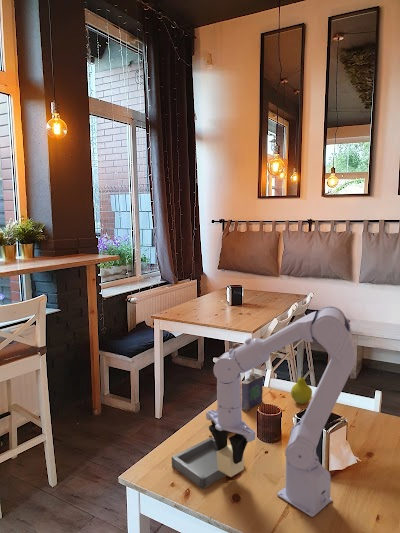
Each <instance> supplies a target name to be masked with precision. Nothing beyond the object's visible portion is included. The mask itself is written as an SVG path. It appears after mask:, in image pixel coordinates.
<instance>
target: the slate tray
mask: <svg viewBox="0 0 400 533" xmlns="http://www.w3.org/2000/svg"><path fill="white" fill-rule="evenodd" d="M217 451H218V449H217V446H216V442H215V440H214V437H213V436H211V437H208V438H206V439H204V440H202V441H200V442H199V443H197V444H195V445H193V446H190V447H188V448H187V449H184V450H183V451H181V452H179V453H177V454H174V455H173V456H171V467H173V469H175V470H176V471H178V472H179V473H180V474H182V475H183V476H184V477H186V478H187V479H189V480H190V481H191V482H192V483H193V484H195V485H197V486H198V487H199V488H200V489H202V490H204V489H206V488H207V487H209V486H211V485H212V484H214V483H215V482H218V481H219V480H221V479H222V478H224V477H225V476H227V475H226V474H225V473H223V472H221V471H219V470H218V466H217Z"/></svg>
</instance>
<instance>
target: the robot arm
mask: <svg viewBox="0 0 400 533" xmlns="http://www.w3.org/2000/svg"><path fill="white" fill-rule="evenodd" d="M314 339H315V340H316V342H318V343H319V344H320V345H321V346H322V348H324V349H325V351H326V352H327V354H328V356H329V358H330V359H329V362H328V364H327V365H326V368H325V370H324V372H323V374H322V376H321V378H320V380H319V383H318V384H317V387H316V389H315V390H314V393H313V394H312V396H311V399H310V400H309V402H308V406H307V408H306V410H305V411H304V414H303V415H302V416H301V418H300V420H299V422H297V423H295V424H293V426H292V427H291V430H290V436H289V439H288V442H287V446H286V447H285V451H284V454H285V487H283V488H282V489H281V490H279V491H278V492H277V496H278V497H280V498H281V499H282V500H285V501H286V502H287V503H289V504H290V505H292V506H293V507H295V508H297V509H298V510H300V511H302V512H303V513H305V514H306V515H308V516H310V517H312V518H313V517H315V516H316V515H317V514H318V513H320V512H321V510H323V508H325V507H326V506H327V505H328V504H329V503H330V502H333V498H332V497H331V481H332V480H331V478H332V476H331V473H330V471H329V470H327V469H326V468H325V467H324V466H323V465H322V463H320V460H319V459H320V458H319V456H318V454H317V447H318V444H319V441H320V438H321V435H322V432H323V429H324V428H325V426H326V424H327V421H328V419H329V417H330V416H331V414H332V412H333V409H334V407H335V405H336V403H337V401H338V399H339V397H340V395H341V393H342V391H343V389H344V387H345V385H346V383H347V381H348V379H349V377H350V374H351V373H352V370H353V368H354V366H355V365H356V361H357V352H356V349H355V343H354V339H353V334H352V330H351V324H350V322H349V320H348V318H347V316H346V314H344V312H343V311H342V310H341V309H340V308H338V307H337V306H333V305H328V306H324V307H322V308H320V309H319V310H318V312H317V310H316V311H313V312H310V313H308V314H307V315H304V316H302V317H300V318H299V319H297V320H295V321H293V322H291V323H290V324H288V325H286V326H285V327H283V328H280V330H278V331H277V332H275V333H273V334H271V335H270V336H268V337H266V338H264V339H263V338H259V337H254V338H253V339H252V338H251V337H248V338H246V339H245V341H244V343H243V344H242V345H240V346H238V347H236V348H233V347H232V348H229V350H228V351H227V352H224V353H223V354H222V355H221V356H220V357H219V358H218V359H217V361H215V363H214V365H213V375H214V377H215V378H216V399H217V400H216V407H217V408H216V409H217V411H216V410H215V409H209V410H207V411H205V412H206V413H205V415H206V416H205V417H206V420H207V421H211V420H213V423H211V424H210V425H209V426H208V430H209V432H210V433H211V435H212V437H213V438H214V440H215V442H216V446H217V449H218V451H219V450H221V449H223V448H225V447H227V446H228V440H229V444H230V445H231V446H232V451H233V461H234V463H235V464H237V463H239V462H241V461H242V457H243V458H244V452H245V450H246V448H247V445H248V444H249V443H251V442H253V441H255V440H256V431H255V430H254V429H252V428H251V427H250V426H249V424H247V423H246V422H245V421H244V420H243V419H242V417H243V416H242V382H241V380H242V378H241V376H242V374H243V373H244V374H245V373H247V372H248V371H249V372H250V370H253V369H254V368H257V367H258V366H260V365H263V364H265V363H266V362H268V361H269V360H270V356H271V353H274V352H275V351H277V350H280V349H282V348H284V347H287V346H288V345H290V344H292V343H295V342H296V341H299V340H302V341H303V340H304V341H306V342H309V343H314ZM228 431H230V432H231V433H234V434H233V435H232V436H230V437H228V436H229V433H230V432H228Z"/></svg>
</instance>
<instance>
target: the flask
mask: <svg viewBox="0 0 400 533" xmlns="http://www.w3.org/2000/svg"><path fill="white" fill-rule="evenodd" d="M248 375H249V376H248V378H245V379H244V380H243V381H242V382H241V410H242V411H244V412H247V411H248V412H249V411H251V410H252V409H255V408H256V407H257V406H259V405H262V404H263V392H264V390H263V388H264V387H263V384H264V379H263V378H264V376H263V374H254V373H253V372H252V371H251V372H250V371H249V372H248Z"/></svg>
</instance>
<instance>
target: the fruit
mask: <svg viewBox="0 0 400 533" xmlns="http://www.w3.org/2000/svg"><path fill="white" fill-rule="evenodd" d="M300 373H301V376H300V377H298V379H297V382H296V383H295V384H294V385H293V386H292V388H291V390H290V391H291V392H290V394H291V398H292V399H293V401H294V402H295V403H298V404H300V405H306V404H307V403H310V401H311V399H312V397H313V390H312V388H311V387H310V385H308V384H307V382H306V379H305V378H304V377H303V370H300Z"/></svg>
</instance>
